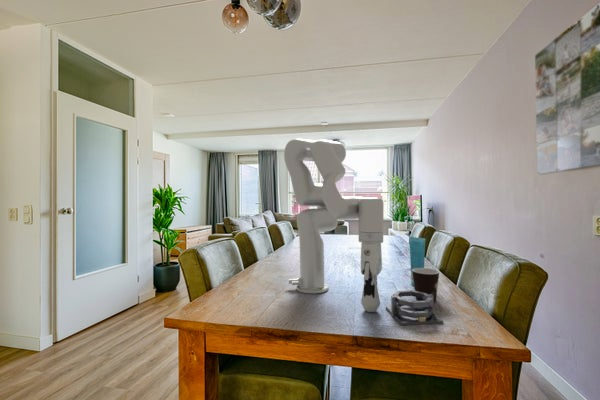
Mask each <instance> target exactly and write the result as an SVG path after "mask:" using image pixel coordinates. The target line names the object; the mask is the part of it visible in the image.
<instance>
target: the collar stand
mask: <svg viewBox="0 0 600 400" xmlns="http://www.w3.org/2000/svg"><path fill="white" fill-rule="evenodd" d="M402 297H415V298H416V297H419V298H423V299H424V300H425V301H418V300H416V299H405V298H402ZM390 302H391V305H387V306H385V310H387V312H388V313H389V314H390V315H391V318H394V319H395V320H396V321H397V322H398V324H400V325H401V326H414V325H415V326H416V325H417V326H419V325H437V324H444V320H443V319H442V318H441V317H439V316H438V315H437V314H436V313H435V305H434V303H435V302H434V295H432V294H426V293H423V292H418V291H415V290H397V291H396V292H394V293H393V294H392V295H391V296H390Z"/></svg>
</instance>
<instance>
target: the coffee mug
mask: <svg viewBox="0 0 600 400" xmlns="http://www.w3.org/2000/svg"><path fill="white" fill-rule="evenodd" d="M412 273H413V281H414V285H413V287H414V291H418V292H423V293H426V294H432V295H434V303H436V301H437V296H438V295H437V294H438V287H439V277H440V271H439V270H437V269H434V268H427V267H424V268H414V269H412ZM415 301H425V300H424V299H423V298H419V297H415Z"/></svg>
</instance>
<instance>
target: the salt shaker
mask: <svg viewBox="0 0 600 400" xmlns="http://www.w3.org/2000/svg"><path fill="white" fill-rule="evenodd" d="M369 274H370V275H372V273H369ZM376 277H377V278H378V275H377V276H375V275H374V285H375V297H374V298H373V297H372V294H371V296H368V295H366V296H365V297H364V287H363V289H362V293H361V294H362V295H361V306H362V307H363V310H364V311H365V312H368V313H376V312H377V310H378V309H379V307H380V305H381V299H380V293H379V289H378V281H377V282H376ZM369 278H371V277H369Z"/></svg>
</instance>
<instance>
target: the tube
mask: <svg viewBox="0 0 600 400" xmlns="http://www.w3.org/2000/svg"><path fill="white" fill-rule="evenodd" d="M426 240H427V239H426V238H423V237H417V236H416V237H415V236H408V243H409V257H410V277H411V278H410V280H411V281H410V283H411V285H412V286H414V281H413V273H412V269H414V268H425V259H426V257H425V254H426V253H425V252H426V251H425V250H426Z"/></svg>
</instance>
